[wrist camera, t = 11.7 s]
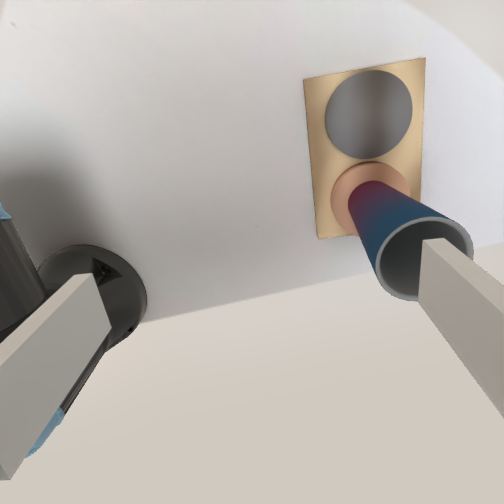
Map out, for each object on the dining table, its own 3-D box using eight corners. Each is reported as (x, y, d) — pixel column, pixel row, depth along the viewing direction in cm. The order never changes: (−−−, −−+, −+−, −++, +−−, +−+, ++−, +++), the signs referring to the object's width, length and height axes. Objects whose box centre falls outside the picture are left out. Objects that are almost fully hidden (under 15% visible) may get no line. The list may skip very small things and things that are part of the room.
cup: (338, 232, 40) (371, 302, 26) (340, 173, 37) (379, 218, 24) (398, 230, 40) (464, 300, 26) (405, 170, 37) (483, 214, 23)
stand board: (317, 236, 44) (320, 245, 41) (303, 79, 36) (305, 78, 34) (415, 223, 42) (425, 232, 40) (421, 58, 35) (434, 55, 32)
